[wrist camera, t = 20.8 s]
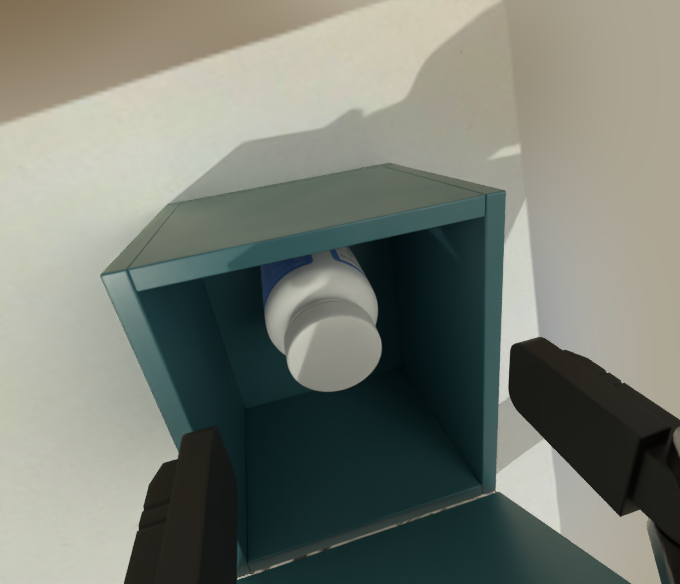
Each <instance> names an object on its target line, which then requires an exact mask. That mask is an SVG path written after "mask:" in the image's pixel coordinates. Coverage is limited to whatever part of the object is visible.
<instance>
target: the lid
mask: <svg viewBox="0 0 680 584" xmlns="http://www.w3.org/2000/svg"><path fill="white" fill-rule="evenodd" d="M237 584H631V583H629V582H628V581H626V580H625V579H624V578H622V577H621V576H619V575H618V574H617V573H615V572H614V571H612V570H611V569H609V568H608V567H606V566H605V565H603V564H602V563H600V562H599V561H598V560H596V559H595V558H594V557H592V556H591V555H589V554H588V553H586V552H585V551H584V550H582V549H581V548H579V547H578V546H576V545H575V544H573V543H572V542H571V541H569V540H568V539H566V538H565V537H563V536H562V535H561V534H559V533H558V532H556V531H555V530H553V529H552V528H551V527H549V526H548V525H546V524H545V523H543V522H542V521H540V520H539V519H538V518H536V517H535V516H533V515H532V514H530V513H529V512H528V511H526V510H525V509H523V508H522V507H520V506H519V505H518V504H516V503H515V502H513V501H512V500H510V499H509V498H507V497H506V496H505V495H503V494H502V493H500V492H496V493H493V494H490V495H487V496H484V497H481V498H478V499H475V500H473V501H470V502H467V503H464V504H461V505H458V506H455V507H452V508H449V509H446V510H443V511H440V512H437V513H434V514H431V515H428V516H425V517H422V518H419V519H416V520H413V521H410V522H407V523H405V524H402V525H399V526H396V527H393V528H390V529H387V530H384V531H381V532H378V533H375V534H372V535H369V536H366V537H363V538H360V539H357V540H354V541H351V542H348V543H345V544H342V545H339V546H337V547H334V548H331V549H328V550H325V551H322V552H319V553H316V554H313V555H310V556H307V557H304V558H301V559H298V560H295V561H292V562H289V563H286V564H283V565H280V566H277V567H274V568H271V569H269V570H266V571H263V572H260V573H257V574H254V575H251V576H248V577H245V578H242V579H239V580H237Z"/></svg>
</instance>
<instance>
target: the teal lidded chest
mask: <svg viewBox="0 0 680 584" xmlns="http://www.w3.org/2000/svg"><path fill="white" fill-rule="evenodd" d="M505 197H506V192H505V190H501V189H496V188H492V187H488V186H484V185H480V184H475V183H471V182H467V181H463V180H459V179H454V178H450V177H446V176H442V175H438V174H434V173H429V172H425V171H421V170H417V169H413V168H408V167H404V166H400V165H396V164H392V163H387V164H382V165H376V166H371V167H366V168H360V169H355V170H350V171H344V172H339V173H334V174H328V175H323V176H318V177H312V178H307V179H302V180H296V181H291V182H286V183H280V184H275V185H270V186H264V187H259V188H253V189H248V190H243V191H237V192H232V193H227V194H221V195H216V196H211V197H205V198H200V199H195V200H189V201H184V202H179V203H173V204H168V205H167V206H166V207H165V208H164V209H163V210H162V211H161V212H160V213H159V214H158V215H157V216H156V217H155V218H154V219H153V220H152V221H151V222H150V223H149V224H148V225H147V227H146V228H145V229H144V230H143V231H142V232H141V233H140V234H139V235H138V236H137V237H136V238H135V239H134V240H133V241H132V242H131V243H130V244H129V245H128V246H127V248H126V249H125V250H124V251H123V252H122V253H121V254H120V255H119V256H118V257H117V258H116V259H115V260H114V261H113V262H112V263H111V264H110V265H109V266H108V267H107V268H106V270H105V271H104V272H103V273H102V274H101V276H100V277H101V279H102V281H103V283H104V286H105V288H106V290H107V292H108V295H109V297H110V299H111V301H112V304H113V306H114V308H115V310H116V313H117V315H118V317H119V319H120V322H121V324H122V326H123V328H124V331H125V333H126V335H127V337H128V340H129V342H130V344H131V346H132V349H133V351H134V353H135V355H136V358H137V360H138V362H139V364H140V367H141V369H142V371H143V373H144V376H145V378H146V380H147V382H148V385H149V387H150V389H151V391H152V394H153V396H154V398H155V400H156V403H157V405H158V407H159V409H160V412H161V414H162V416H163V418H164V420H165V423H166V425H167V427H168V429H169V432H170V434H171V436H172V438H173V441H174V443H175V445H176V447H177V450H178V452H179V450H180V444H181V439H182V436H183V435H184V434H186V433H190V432H193V431H197V430H201V429H204V428H208V427H211V426H217V428H218V430H219V432H220V435H221V437H222V440H223V443H224V445H225V448H226V451H227V453H228V456H229V459H230V462H231V464H232V467H233V470H234V473H235V478H236V484H237V494H238V508H237V578H238V577H241V576H244V575H247V574H250V573H251V572H252V573H253V572H256V571H259V570H262V569H265V568H268V567H271V566H274V565H277V564H280V563H283V562H286V561H288V560H291V559H294V558H297V557H300V556H303V555H306V554H309V553H312V552H315V551H318V550H321V549H324V548H327V547H330V546H333V545H336V544H339V543H342V542H345V541H348V540H351V539H354V538H357V537H360V536H363V535H366V534H369V533H371V532H374V531H377V530H380V529H383V528H386V527H389V526H392V525H395V524H398V523H401V522H404V521H407V520H410V519H413V518H416V517H419V516H422V515H425V514H428V513H431V512H434V511H437V510H440V509H443V508H446V507H449V506H452V505H454V504H457V503H460V502H463V501H466V500H469V499H472V498H475V497H478V496H481V495H484V494H487V493H490V492H493V491H495V488H496V458H497V429H498V400H499V371H500V342H501V313H502V284H503V255H504V226H505ZM346 246H349V248H350V249H351V251H352V253H353V255H354V256H355V258H356V260H357V262H358V264H359V265H360V267H361V269H362V271H363V272H364V274H365V276H366V278H367V279H368V281H369V283H370V285H371V287H372V289H373V291H374V293H375V296H376V299H377V304H378V316H377V322H376V325H375V327H376V329H377V331H378V333H379V336H380V339H381V344H382V351H381V356H380V359H379V362H378V364H377V365H376V367H375V368H374V370H373V371H372V372H371V373H370V374H369V375H368V376H367V377H366V378H365V379H364V380H362V381H361V382H359V383H358V384H356V385H354V386H352V387H349V388H347V389H344V390H339V391H335V392H322V391H315V390H312V389H309V388H307V387H305V386H303V385H301V384H300V383H299V382H297V381H296V379H295V378H294V377H293V376H292V374H291V372H290V370H289V368H288V364H287V359H286V355H284V354H283V353H282V352H280V351H279V350H278V349H277V348H276V346H275V345H274V344H273V342H272V341H271V339H270V337H269V334H268V332H267V328H266V322H265V316H264V303H263V295H262V280H261V266H260V265H264V264H268V263H273V262H277V261H282V260H287V259H291V258H296V257H300V256H305V255H310V254H314V253H319V252H323V251H328V250H333V249H337V248H342V247H346Z"/></svg>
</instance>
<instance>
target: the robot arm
mask: <svg viewBox="0 0 680 584" xmlns="http://www.w3.org/2000/svg"><path fill="white" fill-rule="evenodd" d="M508 388H509V395H510V398H511V401H512V403H513V405H514V407H515V408H516V410H517V411H518V412H519V413H520V414H521V415H522V416H523V417H524V418H525V419H526V420H527V421H528V422H529V423H530V424H531V425H532V426H533V427H534V428H535V429H536V430H537V432H538V433H539V434H540V435H541V436H542V437H543V438H544V439H545V440H546V441H547V442H548V443H549V444H550V445H551V446H552V447H553V448H554V449H555V450H556V451H557V452H558V453H559V454H560V455H561V456H562V457H563V458H564V459H565V460H566V461H567V462H568V463H569V464H570V465H571V466H572V467H573V469H574V470H575V471H576V472H577V473H578V474H579V475H580V476H581V477H582V478H583V479H584V480H585V481H586V482H587V483H588V484H589V485H590V486H591V487H592V488H593V489H594V490H595V491H596V492H597V493H598V494H599V495H600V496H601V497H602V498H603V499H604V500H605V501H606V502H607V503H608V504H609V505H610V507H612V509H613V510H614V511H615V512H616V513H617V514H618V515H619V516H620V517H621V516H624V515H626V514H629V513H632V512H634V511H637V510H641V511H642V512H643V513H645V514H646V515H647V516H648V517H649V518H648V521H647V530H648V534H649V538H650V541H651V545H652V549H653V553H654V557H655V561H656V564H657V568H658V572H659V576H660V579H661V583H662V584H680V420H679V419H678V418H676V417H675V416H673V415H672V414H670V413H669V412H667V411H666V410H664V409H663V408H661V407H660V406H658V405H657V404H655V403H654V402H652V401H651V400H649V399H648V398H646V397H645V396H643V395H642V394H640V393H639V392H637V391H636V390H634V389H633V388H631V387H630V386H628V385H627V384H625V383H623V384H622V383H621V380H619V379H618V378H616V377H615V376H613V375H612V374H610V373H606V371H605V370H604V369H603V368H601V367H600V366H599V365H597V364H596V363H594V362H592V361H591V360H589V359H588V358H586V357H583V356H580V355H578V354H575V353H573V352H570V351H567V350H561V349H559V348H558V347H557V346H555V345H554V344H552V343H551V342H550V341H548V340H546V339H545V338H542V337H537V338H534V339H530V340H527V341H523V342H519V343H516V344H513V345H512V347H511V350H510V367H509V387H508ZM237 508H238V494H237V484H236V478H235V473H234V470H233V467H232V464H231V462H230V459H229V456H228V453H227V451H226V448H225V445H224V443H223V440H222V437H221V435H220V432H219V430H218V428H217V426H211V427H208V428H204V429H201V430H197V431H193V432H190V433H186V434H184V435H183V436H182V439H181V444H180V450H179V455H178V459H176V460H173V461H169V462H166V463H163V464H162V466H161V467H160V469H159V470H158V472H157V473H156V475H155V477H154V478H153V480H152V481H151V483H150V484H149V487H148V491H147V495H146V499H145V503H144V511H143V512H142V515H141V518H140V522H139V531H137V534H136V538H135V542H134V546H133V550H132V554H131V558H130V561H129V565H128V569H127V573H126V577H125V581H124V584H237Z"/></svg>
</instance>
